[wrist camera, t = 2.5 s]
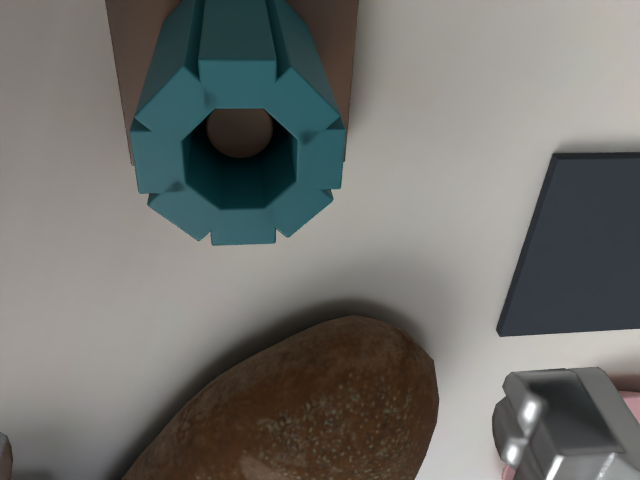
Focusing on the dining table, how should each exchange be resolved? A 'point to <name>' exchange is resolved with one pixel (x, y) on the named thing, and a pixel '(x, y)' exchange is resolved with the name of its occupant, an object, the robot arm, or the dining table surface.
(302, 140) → the teal octagonal tube
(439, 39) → the dining table surface
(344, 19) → the dowel stand
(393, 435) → the bread
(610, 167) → the mat
